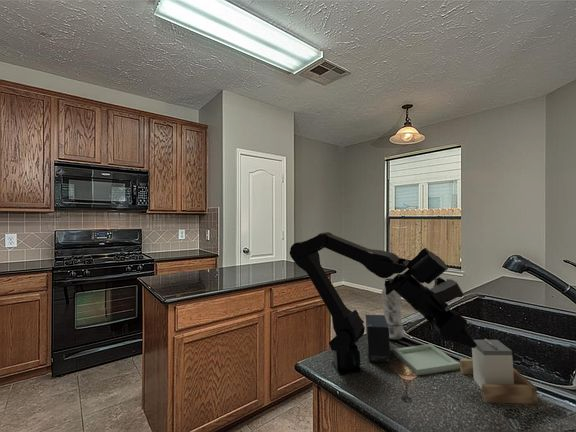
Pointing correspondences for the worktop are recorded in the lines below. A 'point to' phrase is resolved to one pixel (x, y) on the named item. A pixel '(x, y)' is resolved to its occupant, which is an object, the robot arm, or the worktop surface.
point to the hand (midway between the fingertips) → (466, 337)
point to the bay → (505, 388)
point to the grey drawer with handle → (492, 363)
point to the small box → (377, 338)
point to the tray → (425, 359)
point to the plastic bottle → (393, 313)
